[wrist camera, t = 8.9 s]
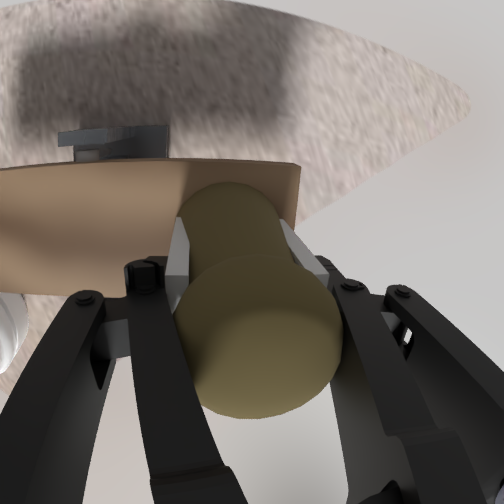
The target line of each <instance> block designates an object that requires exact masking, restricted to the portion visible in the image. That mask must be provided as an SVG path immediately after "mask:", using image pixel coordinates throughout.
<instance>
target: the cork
mask: <svg viewBox="0 0 504 504" xmlns="http://www.w3.org/2000/svg"><path fill="white" fill-rule="evenodd" d="M177 217H181V219H182V222H183V225H184V228H185V231H186V234H187V237H188V240H189V243H190V248H189V286H188V287H187V288H186V290H185V292H184V293H183V295H182V297H181V299H180V301H179V303H178V305H177V307H176V308H175V310H174V312H173V314H172V316H173V320H174V323H175V327H176V330H177V333H178V337H179V340H180V343H181V346H182V350H183V353H184V356H185V359H186V362H187V365H188V368H189V372H190V375H191V378H192V381H193V384H194V386H195V389H196V392H197V395H198V398H199V401H200V404H201V405H202V406H204V407H206V408H208V409H210V410H211V411H213V412H215V413H217V414H220V415H224V416H229V417H233V418H237V419H261V418H267V417H272V416H276V415H281V414H283V413H286V412H288V411H291V410H293V409H296V408H298V407H300V406H302V405H304V404H305V403H306V402H308V401H309V400H311V399H312V398H314V397H315V396H316V395H318V394H319V393H320V392H321V391H322V390H323V389H324V387H325V386H326V385H327V384H328V383H329V382H330V381H331V380H332V378H333V376H334V374H335V372H336V370H337V368H338V366H339V363H340V361H341V354H342V346H343V338H344V326H343V322H342V319H341V315H340V312H339V309H338V306H337V303H336V300H335V298H334V297H333V295H332V294H331V293H330V292H329V290H328V289H327V288H326V287H325V286H324V285H323V284H322V282H321V281H320V280H319V279H318V278H317V277H316V276H315V275H314V274H313V273H312V272H311V271H309V270H307V269H305V268H303V267H301V266H299V265H297V264H295V263H294V260H293V257H292V254H291V252H290V249H289V246H288V244H287V241H286V238H285V235H284V232H283V229H282V226H281V223H280V220H279V216H278V214H277V212H276V209H275V207H274V205H273V204H272V203H271V202H270V201H269V199H268V198H267V197H266V196H265V195H264V194H263V193H262V192H260V191H258V190H256V189H255V188H253V187H251V186H249V185H247V184H241V183H236V182H230V181H229V182H222V183H215V184H211V185H209V186H207V187H205V188H203V189H201V190H199V191H197V192H195V193H194V194H193V195H192V196H191V197H190V198H189V199H188V200H187V201H186V202H185V203H184V204H183V205H182V207H181V209H180V211H179V213H178V215H177ZM175 221H176V219H175ZM174 225H175V223H174Z"/></svg>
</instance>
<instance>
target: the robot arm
mask: <svg viewBox="0 0 504 504" xmlns="http://www.w3.org/2000/svg"><path fill="white" fill-rule="evenodd" d="M279 220H280V223H281V226H282V229H283V232H284V235H285V238H286V241H287V244H288V246H289V249H290V252H291V254H292V257H293V260H294V263H295V264H297V265H299V266H301V267H303V268H305V269H307V270H309V271H311V272H312V273H313V274H314V275H315V276H316V277H317V278H318V279H319V280H320V281H321V282H322V284H323V285H324V286H325V287H326V288H327V289H328V290H329V292H330V293H331V294H332V295H333V297H334V298H335V300H336V303H337V306H338V309H339V312H340V315H341V319H342V322H343V326H344V338H343V346H342V354H341V361H340V363H339V366H338V368H337V370H336V372H335V374H334V376H333V378H332V380H331V381H330V387H331V392H332V397H333V402H334V407H335V413H336V418H337V423H338V429H339V434H340V440H341V445H342V451H343V457H344V462H345V469H346V475H347V481H348V489H349V492H348V498H347V502H346V504H504V372H503V371H502V370H501V369H500V368H499V367H498V366H497V365H496V364H495V363H494V362H493V361H492V360H491V359H490V358H489V357H488V356H486V354H484V353H483V352H482V351H481V350H480V349H479V348H478V347H477V346H476V345H475V344H474V343H473V342H472V341H471V340H470V339H468V338H467V337H466V336H465V335H464V334H463V333H462V332H461V331H460V330H459V329H458V328H456V327H455V326H454V325H453V324H452V323H451V322H450V321H449V320H448V319H446V318H445V317H444V316H443V315H442V314H441V313H440V312H439V311H437V310H436V309H435V308H434V307H433V306H432V305H430V304H429V303H428V302H427V301H426V300H425V299H424V298H422V297H421V296H420V295H419V294H418V293H416V292H415V291H414V290H412V289H411V288H408V287H407V286H405V285H403V286H402V285H400V284H399V285H391V286H389V287H387V290H386V294H385V296H384V295H375V294H370V292H369V290H368V288H367V287H366V286H365V285H364V284H363V283H361V282H359V281H356V280H353V279H346V278H345V277H344V276H343V275H342V274H341V273H340V272H339V271H338V269H337V268H336V267H335V266H334V265H333V264H332V263H331V261H330V260H328V259H326V258H325V257H323V256H314V255H313V254H312V252H311V251H310V250H309V249H308V248H307V246H306V245H305V244H304V243H303V242H302V241H301V239H300V238H299V237H298V236H297V235H296V234H295V232H294V231H293V230H292V229H291V228H290V226H289V225H288V224H287V223H286V222H285V221H284V220H283V219H279ZM189 248H190V243H189V240H188V237H187V234H186V231H185V228H184V225H183V222H182V219H181V217H176V221H175V225H174V230H173V235H172V240H171V245H170V250H169V256H148V257H147V258H146V259H139V260H134V261H132V262H129V263H128V264H126V265H125V267H124V277H125V286H126V296H125V297H122V298H120V299H115V300H109V301H105V300H104V296H103V294H102V293H100V292H98V291H95V290H82V291H78V292H76V293H74V294H72V295H71V296H70V297H69V298H68V299H67V300H66V301H65V303H64V304H63V306H62V307H61V309H60V311H59V312H58V314H57V315H56V317H55V318H54V320H53V321H52V323H51V325H50V326H49V328H48V329H47V331H46V333H45V334H44V336H43V337H42V339H41V341H40V342H39V344H38V346H37V347H36V349H35V351H34V352H33V354H32V356H31V358H30V359H29V361H28V363H27V365H26V366H25V368H24V370H23V372H22V373H21V375H20V377H19V379H18V381H17V383H16V385H15V386H14V388H13V390H12V392H11V394H10V396H9V398H8V400H7V402H6V404H5V406H4V408H3V410H2V412H1V414H0V504H82V502H83V496H84V491H85V486H86V480H87V475H88V470H89V466H90V461H91V456H92V452H93V447H94V443H95V438H96V434H97V430H98V426H99V422H100V418H101V414H102V410H103V406H104V403H105V399H106V395H107V392H108V388H109V385H110V381H111V378H112V374H113V371H114V367H115V364H116V358H122V357H127V356H131V363H132V372H133V380H134V387H135V395H136V402H137V409H138V415H139V421H140V427H141V433H142V438H143V443H144V448H145V454H146V459H147V463H148V468H149V473H150V486H151V491H152V496H153V500H154V504H248V502H247V500H246V498H245V496H244V494H243V492H242V489H241V487H240V485H239V483H238V481H237V479H236V477H235V475H234V473H233V471H232V470H231V468H230V467H229V466H225V465H224V463H223V461H222V459H221V457H220V454H219V451H218V449H217V446H216V444H215V441H214V439H213V436H212V434H211V431H210V428H209V426H208V423H207V420H206V418H205V415H204V412H203V409H202V407H201V404H200V401H199V398H198V395H197V392H196V389H195V386H194V384H193V381H192V378H191V375H190V372H189V368H188V365H187V362H186V359H185V356H184V353H183V350H182V346H181V343H180V340H179V337H178V333H177V330H176V327H175V323H174V320H173V316H172V314H173V312H174V310H175V308H176V307H177V305H178V303H179V301H180V299H181V297H182V295H183V293H184V292H185V290H186V288H187V287H188V286H189ZM408 328H409V329H410V330H411V332H412V335H411V338H410V341H409V342H408V344H407V343H406V342H405V341H404V338H405V335H406V332H407V330H408Z"/></svg>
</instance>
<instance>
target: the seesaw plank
mask: <svg viewBox="0 0 504 504" xmlns="http://www.w3.org/2000/svg"><path fill="white" fill-rule="evenodd" d="M300 173H301V166H299V165H296V164H294V163H286V162H271V161H255V160H234V159H202V158H138V159H107V160H99V149H87V150H79V151H76V161H72V162H59V163H47V164H36V165H27V166H18V167H9V168H1V169H0V292H3V293H18V294H35V295H55V296H71V295H72V294H74V293H76V292H78V291H82V290H95V291H98V292H100V293H102V294H103V296H104V297H111V298H122V297H125V296H126V286H125V277H124V267H125V265H126V264H128V263H129V262H132V261H134V260H139V259H146V258H147V257H148V256H169V250H170V245H171V240H172V235H173V230H174V223H175V219H176V217H177V215H178V213H179V211H180V209H181V207H182V205H183V204H184V203H185V202H186V201H187V200H188V199H189V198H190V197H191V196H192V195H193V194H194V193H195V192H197V191H199V190H201V189H203V188H205V187H207V186H209V185H211V184H215V183H222V182H229V181H230V182H236V183H241V184H247V185H249V186H251V187H253V188H255V189H256V190H258V191H260V192H262V193H263V194H264V195H265V196H266V197H267V198H268V199H269V201H270V202H271V203H272V204H273V205H274V207H275V209H276V212H277V214H278V216H279V219H283V220H284V221H285V222H286V223H287V224H288V225H289V226H290V228H291V229H292V230H293V231H294V227H295V219H296V210H297V201H298V192H299V183H300Z"/></svg>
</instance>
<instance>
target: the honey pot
mask: <svg viewBox="0 0 504 504" xmlns="http://www.w3.org/2000/svg"><path fill="white" fill-rule="evenodd" d="M28 328H29V320H28V312H27V309H26V305H25V302H24V300H23V297H22V295H21V294H18V293H3V292H0V374H1V373H3V372H4V371H5V370H6V369H7V368H8V366H9V365H10V364H11V361H12V360H13V358H14V356H15V355H16V353H17V351H18V350H19V348H20V346H21V345H22V343H23V341H24V340H25V338H26V335H27V332H28Z"/></svg>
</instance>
